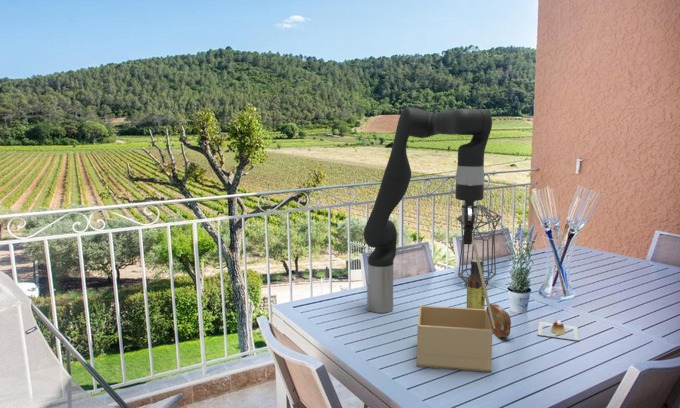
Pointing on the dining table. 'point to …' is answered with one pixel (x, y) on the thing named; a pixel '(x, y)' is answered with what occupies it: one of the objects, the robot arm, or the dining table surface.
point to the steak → (500, 321)
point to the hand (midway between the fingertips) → (467, 243)
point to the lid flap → (483, 281)
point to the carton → (454, 338)
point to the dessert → (558, 330)
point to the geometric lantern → (483, 242)
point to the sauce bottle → (475, 288)
